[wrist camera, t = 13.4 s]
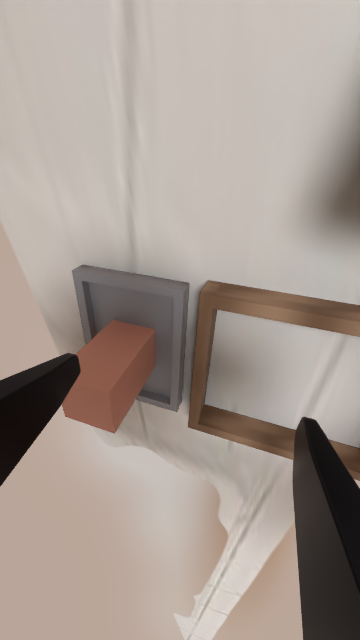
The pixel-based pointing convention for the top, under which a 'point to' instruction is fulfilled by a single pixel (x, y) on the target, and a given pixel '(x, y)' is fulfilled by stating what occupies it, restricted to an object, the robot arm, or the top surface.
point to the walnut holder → (273, 308)
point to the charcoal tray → (140, 321)
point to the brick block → (111, 374)
